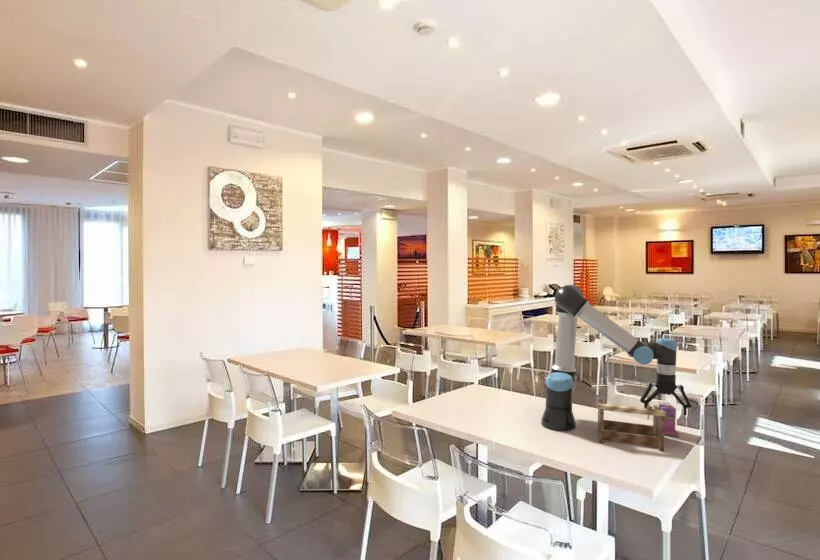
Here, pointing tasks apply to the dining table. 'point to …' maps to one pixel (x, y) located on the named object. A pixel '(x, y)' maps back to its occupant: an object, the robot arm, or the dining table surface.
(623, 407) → the brown wooden bar
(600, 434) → the toolbox
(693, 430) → the dining table surface
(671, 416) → the box
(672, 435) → the mat
